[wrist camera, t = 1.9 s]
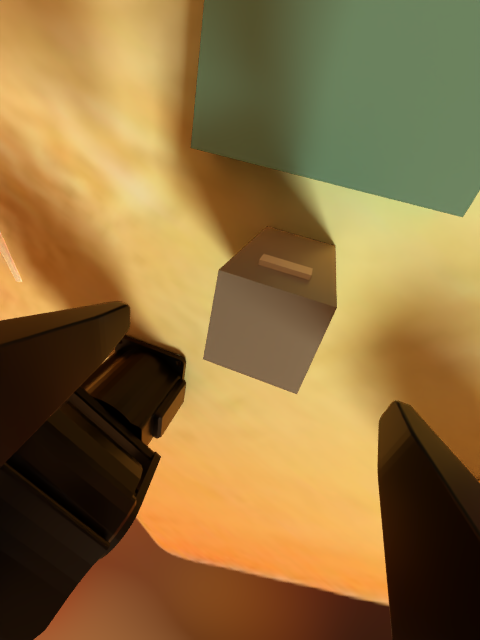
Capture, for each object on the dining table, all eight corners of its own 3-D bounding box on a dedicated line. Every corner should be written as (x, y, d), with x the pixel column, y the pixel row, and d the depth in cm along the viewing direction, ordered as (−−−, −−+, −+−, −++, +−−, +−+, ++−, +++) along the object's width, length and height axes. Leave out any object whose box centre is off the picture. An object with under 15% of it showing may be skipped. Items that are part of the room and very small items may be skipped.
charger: (251, 287, 18) (203, 359, 11) (268, 223, 16) (219, 264, 9) (310, 306, 17) (296, 394, 11) (336, 242, 15) (339, 302, 8)
